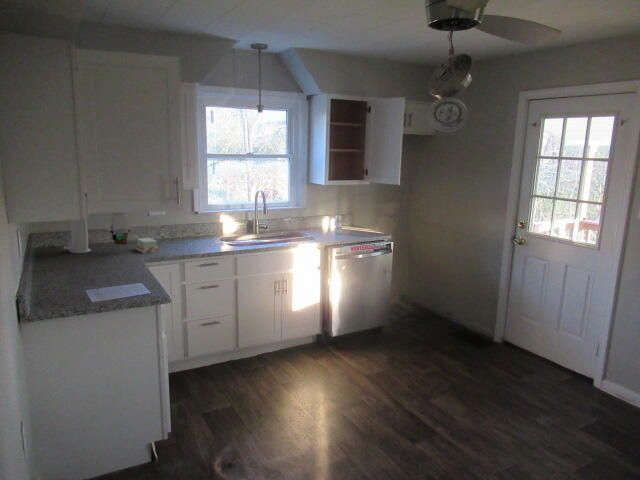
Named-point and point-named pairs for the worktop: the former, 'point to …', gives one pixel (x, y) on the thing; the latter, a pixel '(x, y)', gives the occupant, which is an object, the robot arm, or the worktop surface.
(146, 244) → the top slab
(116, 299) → the worktop surface
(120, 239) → the food container
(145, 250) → the base slab
